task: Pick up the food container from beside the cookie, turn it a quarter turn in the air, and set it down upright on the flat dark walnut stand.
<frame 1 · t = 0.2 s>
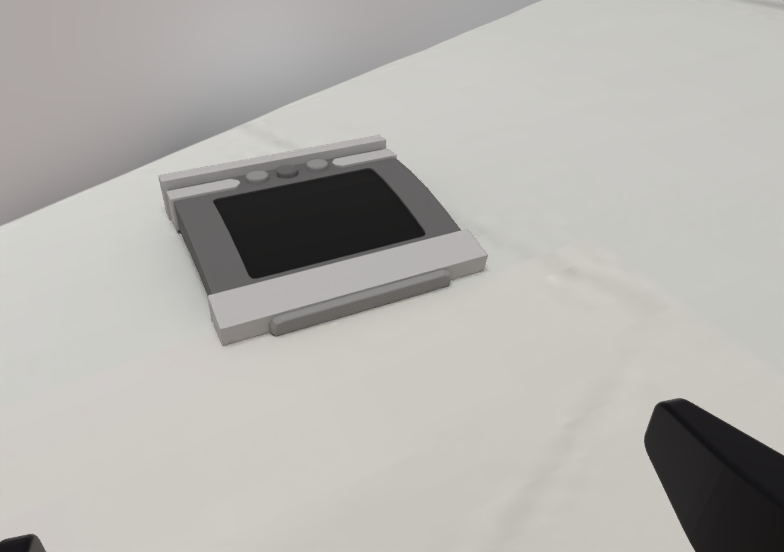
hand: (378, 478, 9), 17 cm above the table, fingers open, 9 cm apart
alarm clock: (318, 250, 45), on the table
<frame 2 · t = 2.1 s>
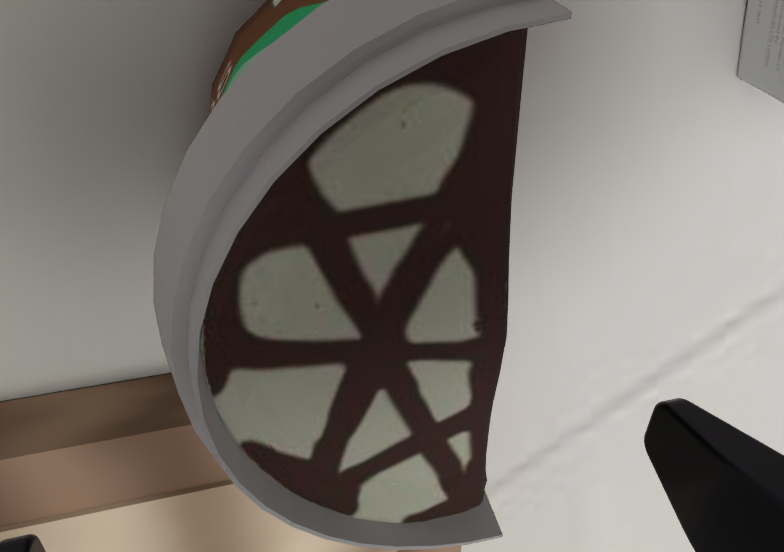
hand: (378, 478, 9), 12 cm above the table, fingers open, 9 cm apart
food container: (278, 138, 19), on the table
walnut stand: (192, 517, 27), on the table
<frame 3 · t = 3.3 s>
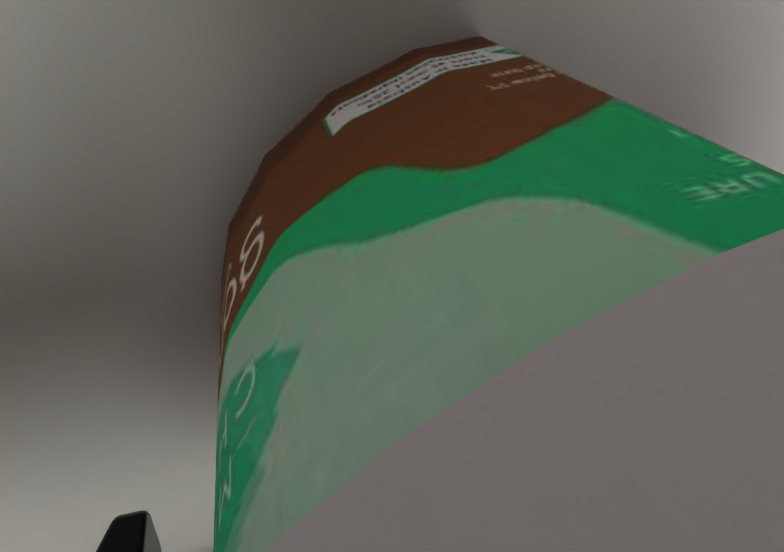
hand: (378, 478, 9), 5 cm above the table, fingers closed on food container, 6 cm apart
food container: (320, 286, 13), on the table, touching gripper
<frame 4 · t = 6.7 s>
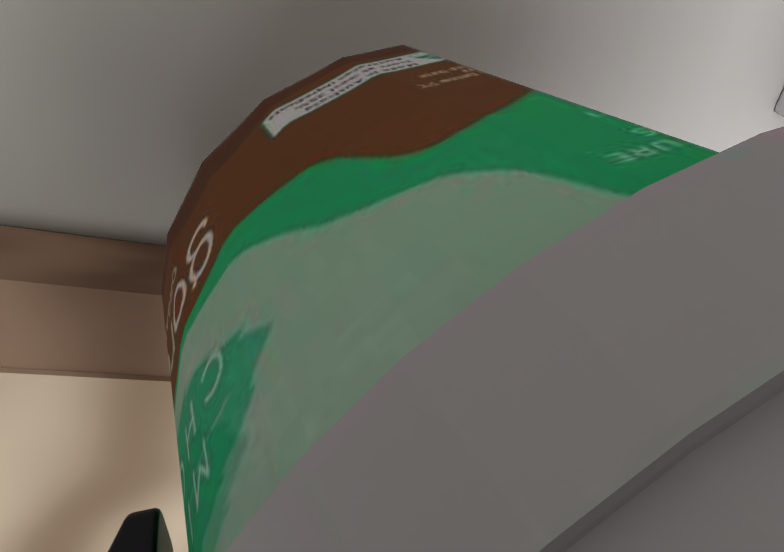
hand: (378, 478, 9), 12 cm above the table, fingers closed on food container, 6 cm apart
food container: (259, 291, 13), point 7 cm above the table, touching gripper
walnut stand: (106, 427, 23), on the table
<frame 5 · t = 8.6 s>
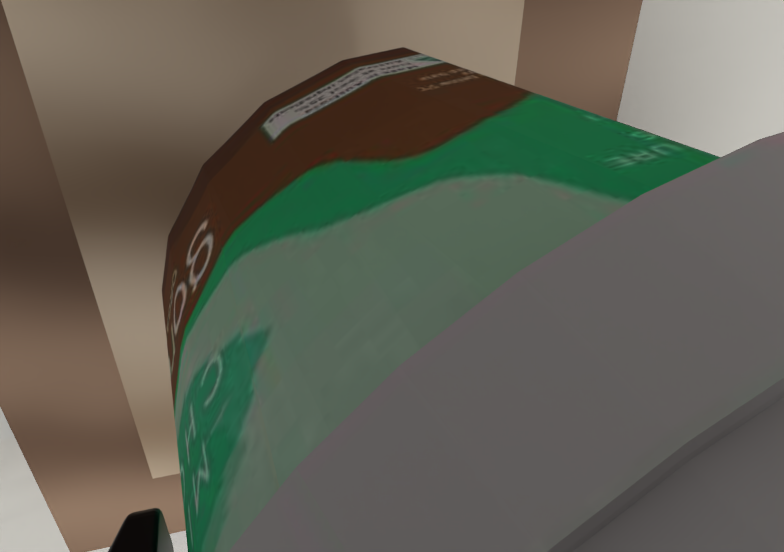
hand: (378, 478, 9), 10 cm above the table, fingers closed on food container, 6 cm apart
food container: (259, 293, 13), point 5 cm above the table, touching gripper
walnut stand: (289, 171, 18), on the table
when the fingers open (8 cm above the table, at t = 10.1 s): food container stays where it is, resting on walnut stand.
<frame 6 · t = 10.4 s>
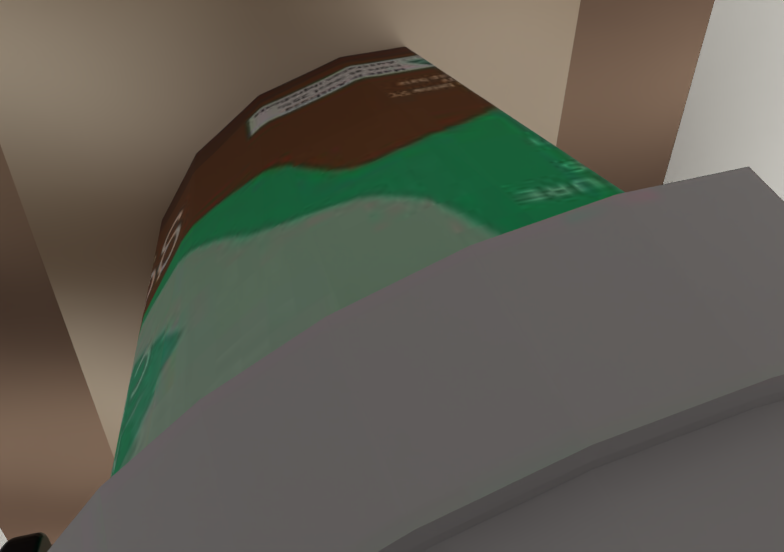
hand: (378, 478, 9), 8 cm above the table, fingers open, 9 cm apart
food container: (255, 282, 14), point 3 cm above the table, touching walnut stand
walnut stand: (299, 209, 16), on the table
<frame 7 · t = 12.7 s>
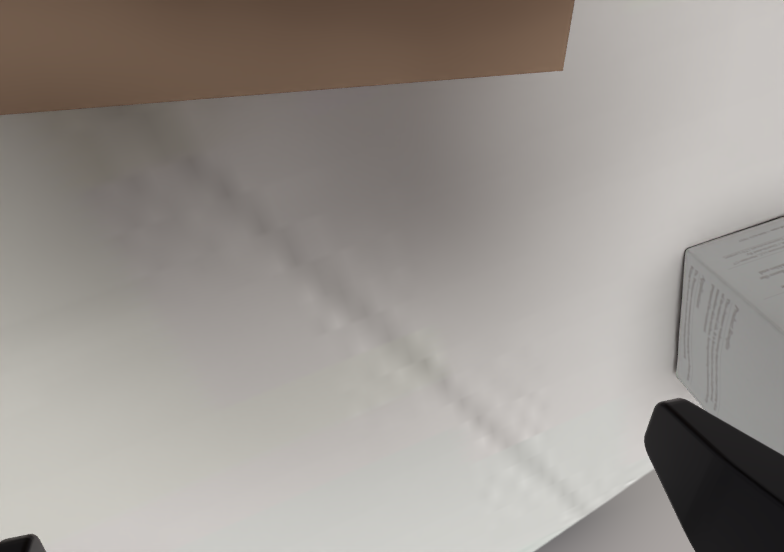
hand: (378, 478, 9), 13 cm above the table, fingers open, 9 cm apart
skincare box: (727, 291, 30), on the table
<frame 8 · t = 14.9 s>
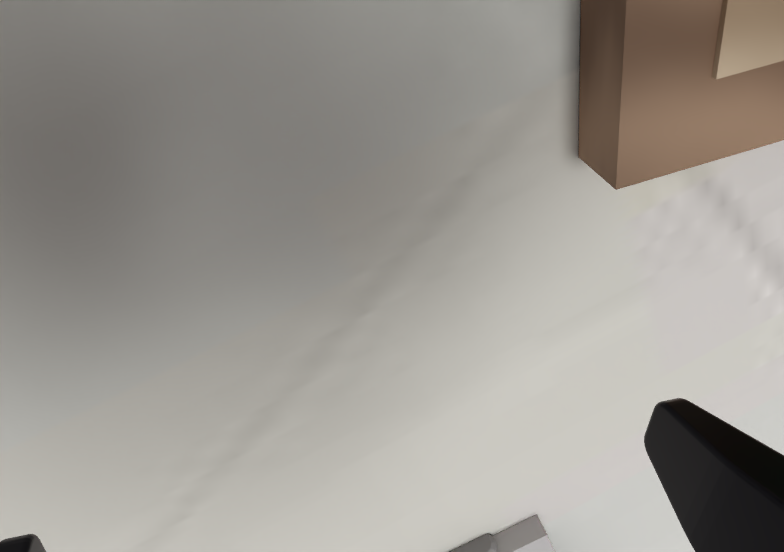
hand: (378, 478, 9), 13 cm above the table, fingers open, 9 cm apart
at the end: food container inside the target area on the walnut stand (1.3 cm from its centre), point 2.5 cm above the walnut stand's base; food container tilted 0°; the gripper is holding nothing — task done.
